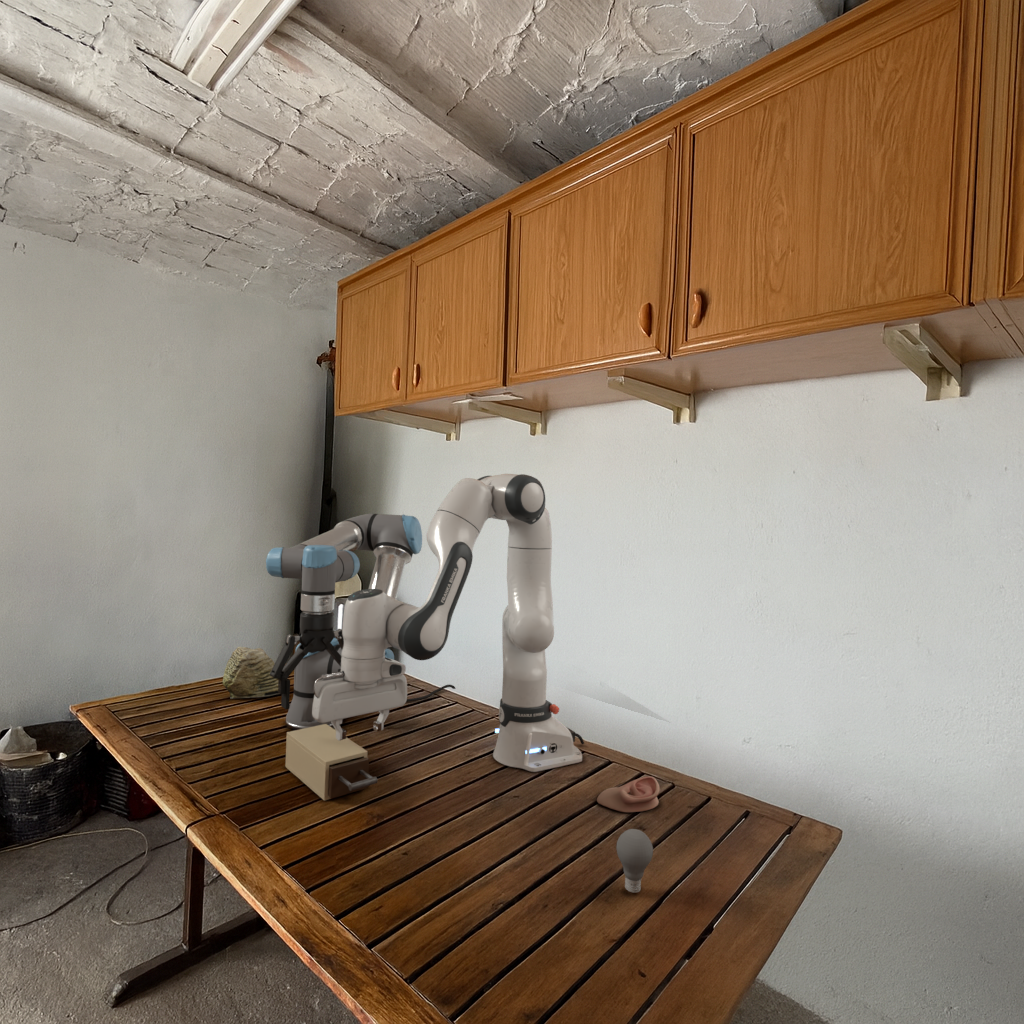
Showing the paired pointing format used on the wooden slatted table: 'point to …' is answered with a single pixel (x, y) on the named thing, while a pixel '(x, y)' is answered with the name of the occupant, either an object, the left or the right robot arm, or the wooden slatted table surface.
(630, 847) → the light bulb
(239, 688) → the fossil
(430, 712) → the wooden slatted table surface
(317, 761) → the cabinet
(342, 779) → the drawer
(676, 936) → the wooden slatted table surface
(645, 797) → the anatomical model
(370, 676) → the right robot arm
